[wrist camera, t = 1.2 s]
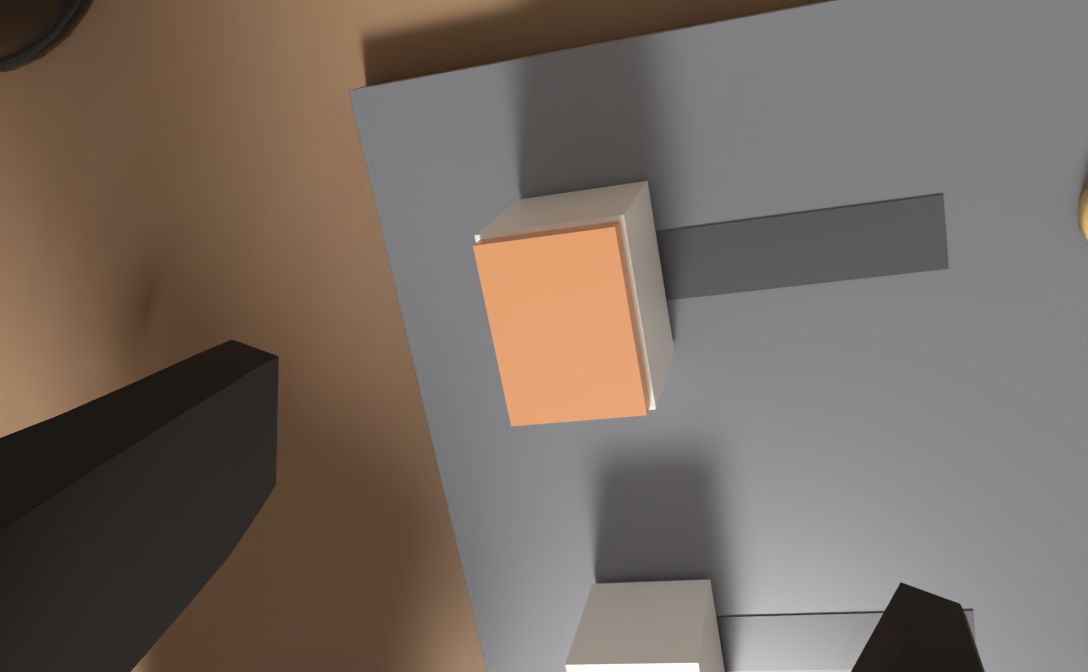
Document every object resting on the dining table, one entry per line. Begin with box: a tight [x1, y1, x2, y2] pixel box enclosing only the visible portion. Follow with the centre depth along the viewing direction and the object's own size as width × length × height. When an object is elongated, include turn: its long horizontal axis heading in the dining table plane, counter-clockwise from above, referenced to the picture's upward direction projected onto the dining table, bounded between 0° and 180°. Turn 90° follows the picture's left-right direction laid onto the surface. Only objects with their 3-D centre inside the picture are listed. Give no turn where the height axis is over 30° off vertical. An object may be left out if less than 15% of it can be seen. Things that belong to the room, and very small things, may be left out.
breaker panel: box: [348, 0, 1088, 672], centre depth 24 cm, size 18×20×2 cm
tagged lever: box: [473, 181, 674, 426], centre depth 22 cm, size 3×4×4 cm
